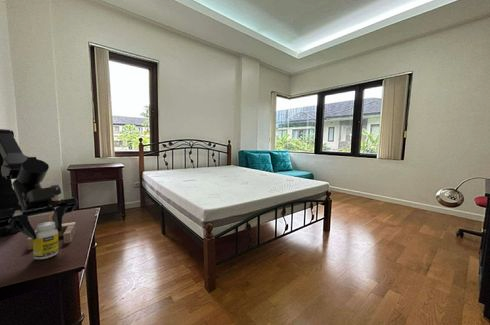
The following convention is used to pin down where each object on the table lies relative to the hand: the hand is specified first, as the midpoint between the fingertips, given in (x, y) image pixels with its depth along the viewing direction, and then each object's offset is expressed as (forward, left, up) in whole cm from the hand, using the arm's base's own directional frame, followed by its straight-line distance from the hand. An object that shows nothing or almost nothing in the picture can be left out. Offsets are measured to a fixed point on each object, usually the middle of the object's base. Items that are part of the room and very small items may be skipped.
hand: (48, 234), depth 60 cm
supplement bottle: (-1, 0, -7) cm, 7 cm away
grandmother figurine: (-26, +25, -7) cm, 37 cm away
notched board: (-10, +10, -7) cm, 16 cm away
